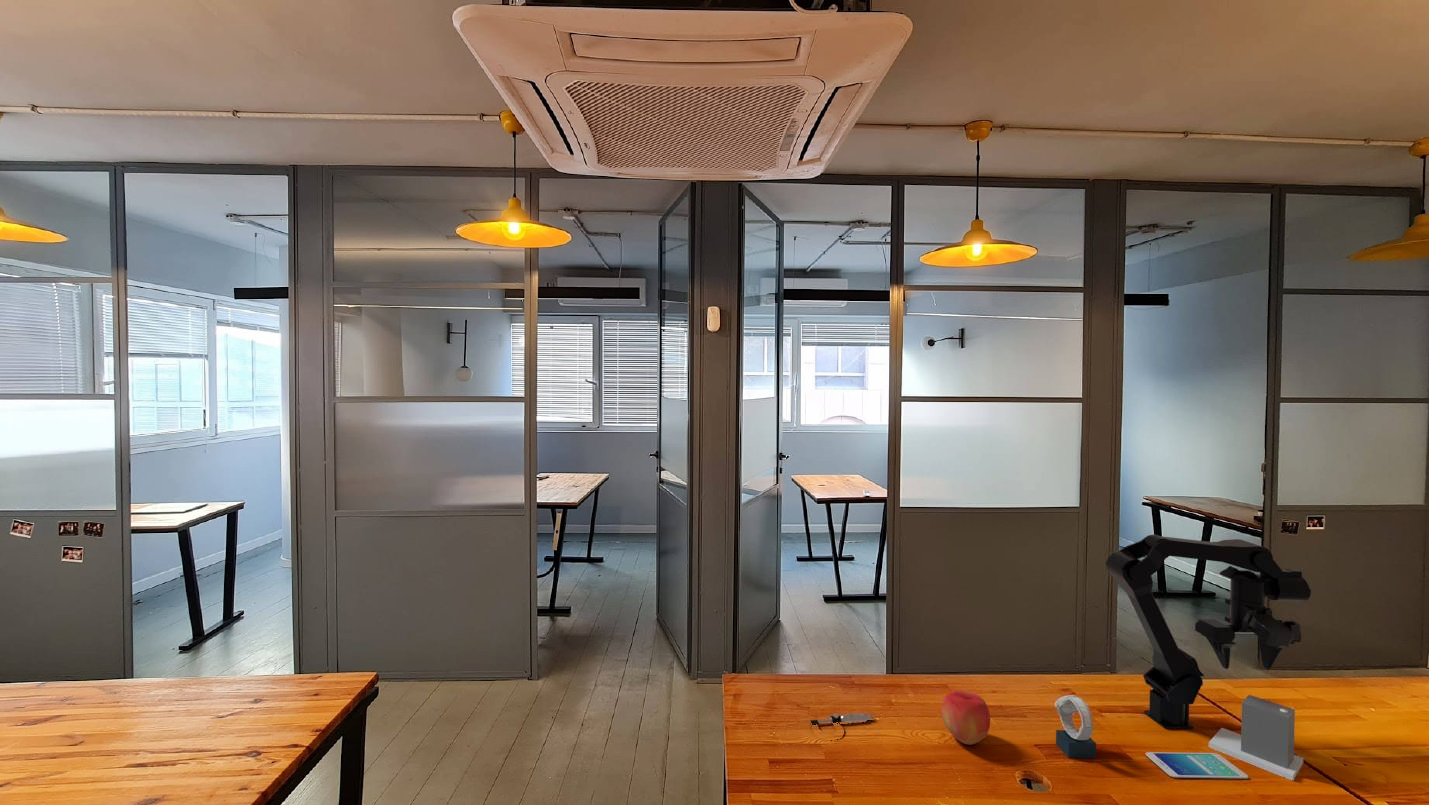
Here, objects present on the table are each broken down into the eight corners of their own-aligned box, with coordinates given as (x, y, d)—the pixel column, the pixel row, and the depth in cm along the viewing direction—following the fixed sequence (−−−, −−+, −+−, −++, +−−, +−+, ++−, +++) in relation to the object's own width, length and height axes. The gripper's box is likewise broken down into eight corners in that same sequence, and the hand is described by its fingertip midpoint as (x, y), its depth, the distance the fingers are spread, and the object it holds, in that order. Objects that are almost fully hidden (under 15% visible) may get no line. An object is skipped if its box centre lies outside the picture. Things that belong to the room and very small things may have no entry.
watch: (1076, 739, 121) (1076, 688, 121) (1101, 763, 113) (1102, 709, 113) (1050, 738, 121) (1050, 688, 121) (1073, 763, 113) (1074, 709, 113)
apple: (996, 757, 115) (996, 708, 115) (946, 751, 117) (947, 703, 117) (983, 729, 124) (984, 684, 124) (937, 724, 126) (938, 680, 126)
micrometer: (817, 744, 120) (817, 733, 120) (807, 725, 127) (807, 713, 127) (884, 738, 122) (884, 727, 122) (870, 719, 129) (870, 708, 129)
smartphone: (1251, 778, 108) (1172, 776, 109) (1251, 782, 108) (1172, 780, 109) (1217, 753, 116) (1143, 751, 116) (1217, 756, 116) (1143, 755, 116)
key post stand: (1208, 747, 118) (1209, 723, 118) (1221, 732, 123) (1222, 709, 123) (1292, 781, 108) (1293, 755, 108) (1303, 763, 113) (1303, 738, 113)
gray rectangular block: (1240, 750, 115) (1241, 701, 115) (1248, 741, 118) (1249, 693, 118) (1287, 769, 110) (1288, 717, 110) (1293, 759, 113) (1294, 708, 113)
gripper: (1239, 613, 117) (1237, 687, 117) (1329, 613, 117) (1327, 687, 117) (1193, 593, 128) (1192, 661, 129) (1276, 593, 128) (1274, 661, 129)
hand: (1246, 668), depth 125 cm, fingers open, 9 cm apart
